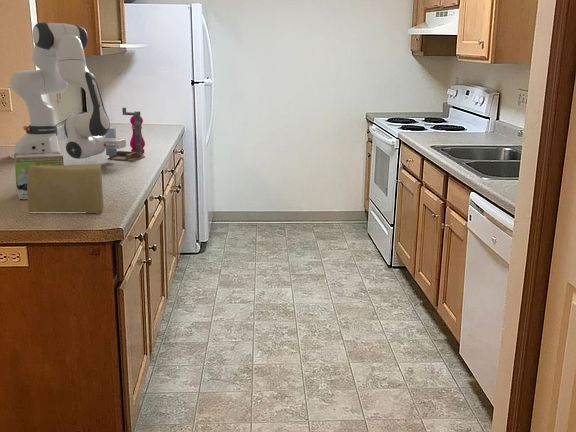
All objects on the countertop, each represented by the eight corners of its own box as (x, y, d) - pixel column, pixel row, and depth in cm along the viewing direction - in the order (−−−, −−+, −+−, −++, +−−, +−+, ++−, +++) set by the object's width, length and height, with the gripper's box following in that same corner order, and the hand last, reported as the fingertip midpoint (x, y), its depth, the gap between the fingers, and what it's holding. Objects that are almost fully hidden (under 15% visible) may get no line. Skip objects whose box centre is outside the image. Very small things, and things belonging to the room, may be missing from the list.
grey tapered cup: (108, 155, 272) (106, 128, 269) (104, 154, 276) (103, 127, 273) (118, 155, 275) (117, 128, 271) (114, 153, 278) (113, 127, 275)
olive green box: (26, 217, 187) (22, 169, 183) (32, 209, 196) (27, 163, 192) (102, 215, 192) (99, 168, 188) (103, 207, 201) (101, 162, 197)
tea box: (19, 201, 206) (15, 157, 202) (16, 194, 214) (12, 152, 210) (66, 197, 213) (63, 154, 209) (62, 190, 221) (59, 150, 217)
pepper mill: (141, 154, 296) (139, 113, 291) (127, 153, 297) (125, 112, 292) (147, 152, 303) (146, 111, 297) (134, 151, 304) (132, 110, 299)
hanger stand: (133, 161, 279) (131, 110, 272) (107, 159, 282) (104, 109, 275) (145, 157, 289) (143, 108, 283) (120, 155, 292) (118, 106, 286)
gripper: (116, 138, 258) (132, 134, 271) (73, 135, 263) (91, 131, 276) (117, 153, 260) (133, 148, 273) (74, 150, 265) (92, 145, 278)
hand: (111, 139), depth 274 cm, fingers closed on grey tapered cup, 5 cm apart
